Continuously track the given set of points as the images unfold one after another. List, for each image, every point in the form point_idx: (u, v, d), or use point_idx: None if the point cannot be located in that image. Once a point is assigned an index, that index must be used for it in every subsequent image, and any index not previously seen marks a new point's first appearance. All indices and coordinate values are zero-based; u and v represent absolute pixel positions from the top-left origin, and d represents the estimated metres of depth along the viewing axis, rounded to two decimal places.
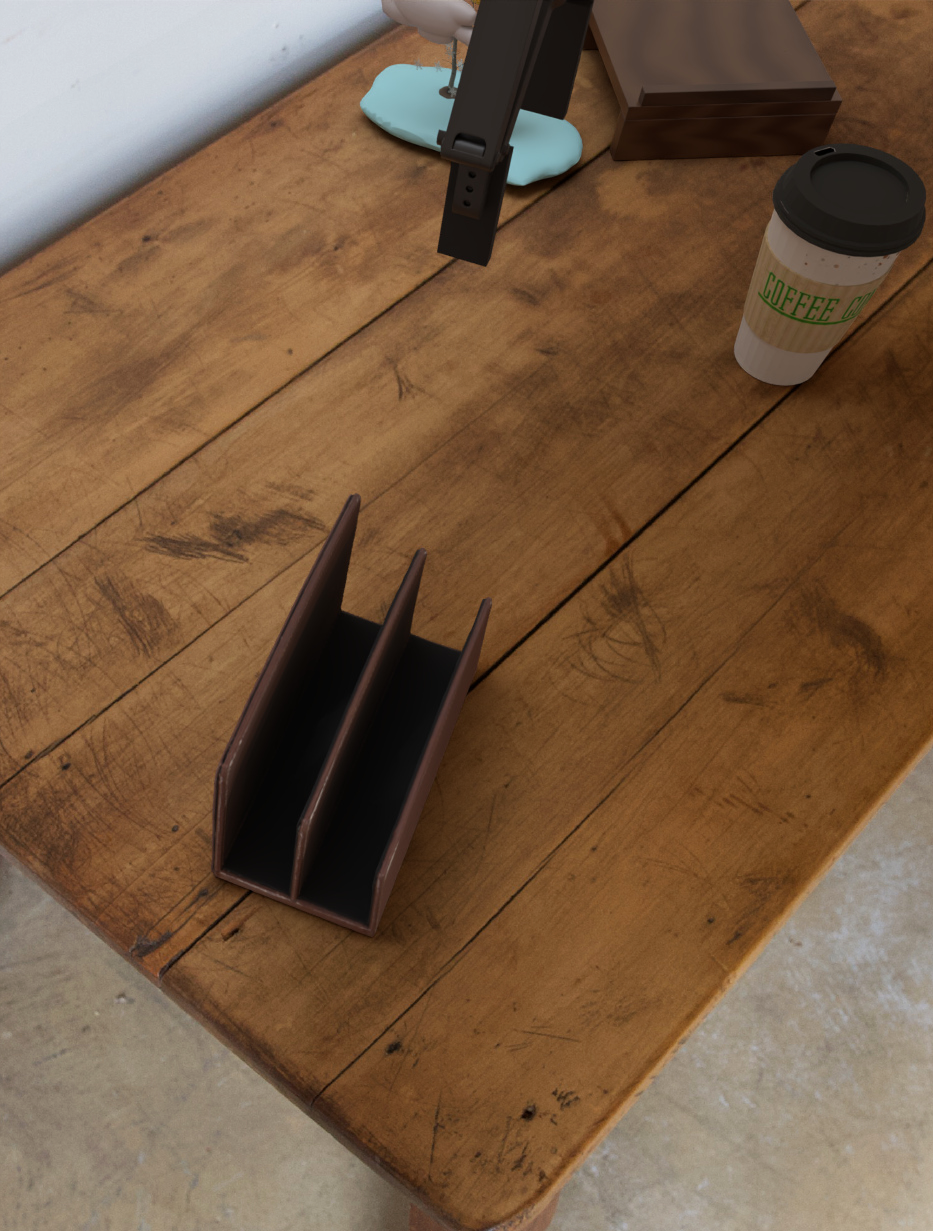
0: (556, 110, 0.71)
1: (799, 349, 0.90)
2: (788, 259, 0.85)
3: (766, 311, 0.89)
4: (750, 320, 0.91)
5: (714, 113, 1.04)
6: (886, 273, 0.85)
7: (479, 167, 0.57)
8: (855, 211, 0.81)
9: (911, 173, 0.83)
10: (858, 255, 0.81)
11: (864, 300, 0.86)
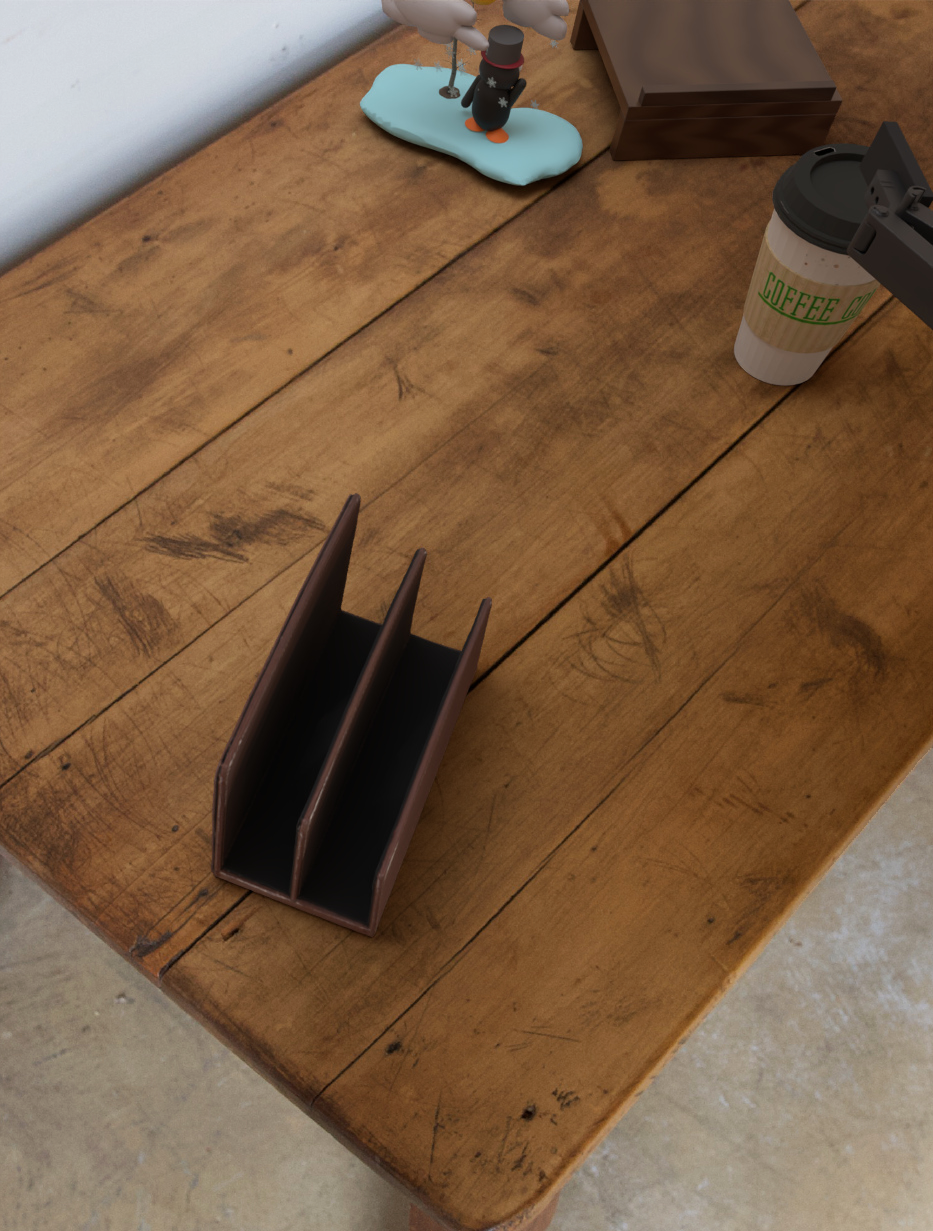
0: None
1: (799, 349, 0.90)
2: (788, 259, 0.85)
3: (766, 311, 0.89)
4: (750, 320, 0.91)
5: (714, 113, 1.04)
6: None
7: None
8: (855, 211, 0.81)
9: None
10: None
11: (864, 300, 0.86)
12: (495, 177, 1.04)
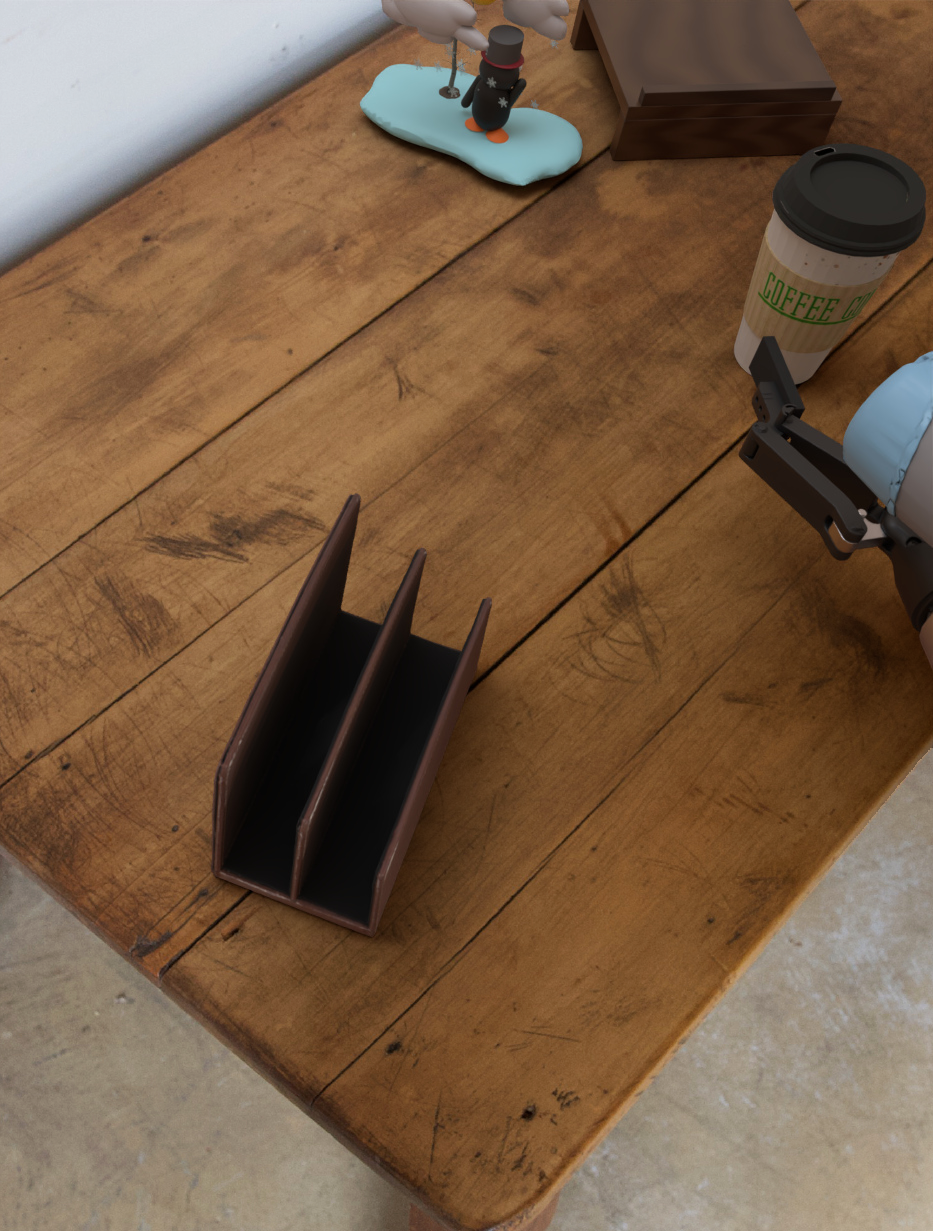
0: None
1: (799, 349, 0.90)
2: (788, 258, 0.85)
3: (766, 311, 0.89)
4: (750, 320, 0.91)
5: (714, 113, 1.04)
6: (886, 273, 0.85)
7: None
8: (855, 211, 0.81)
9: (911, 173, 0.83)
10: (858, 255, 0.81)
11: (864, 300, 0.86)
12: (495, 177, 1.04)
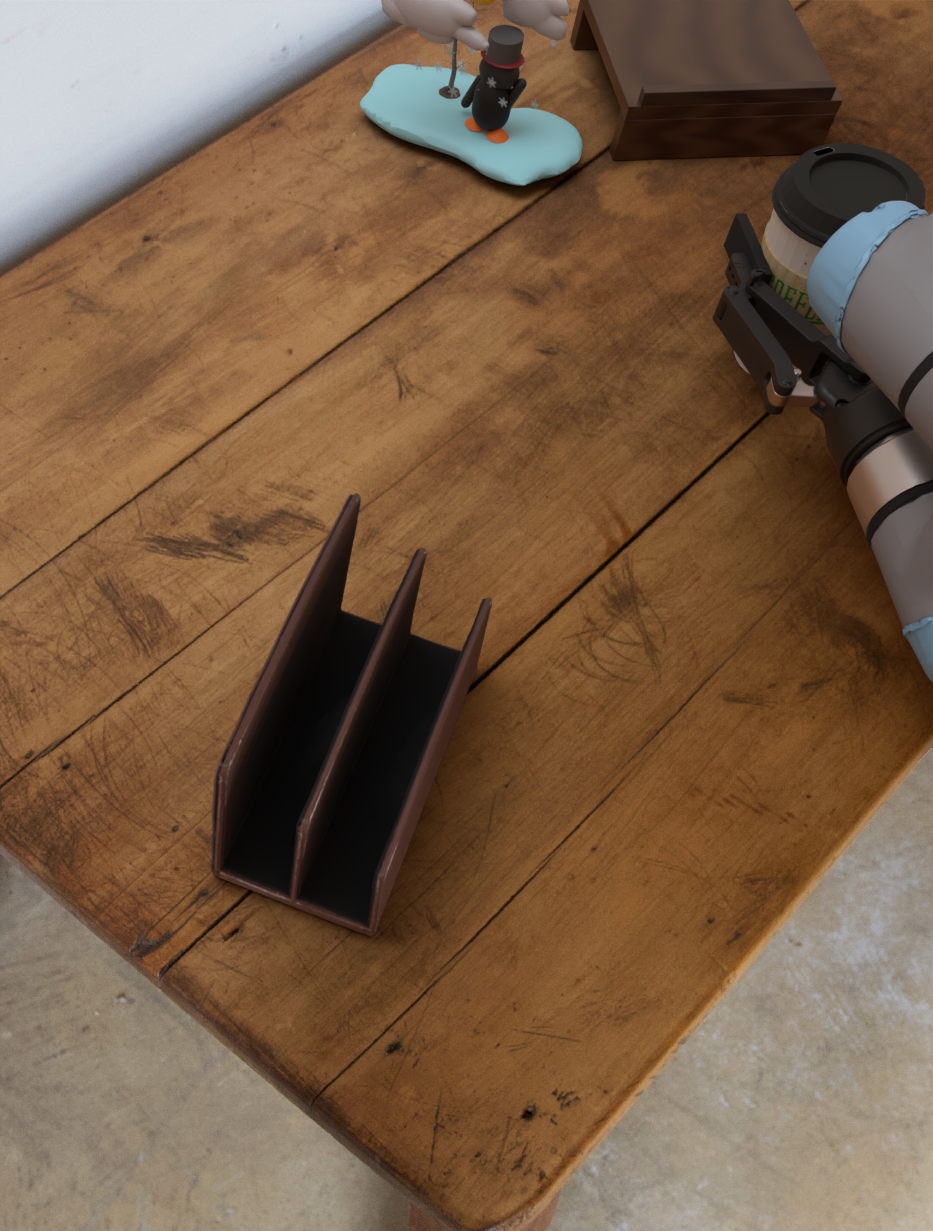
0: None
1: None
2: (787, 258, 0.85)
3: None
4: None
5: (714, 113, 1.04)
6: None
7: None
8: (854, 211, 0.81)
9: (910, 172, 0.83)
10: None
11: None
12: (495, 177, 1.04)
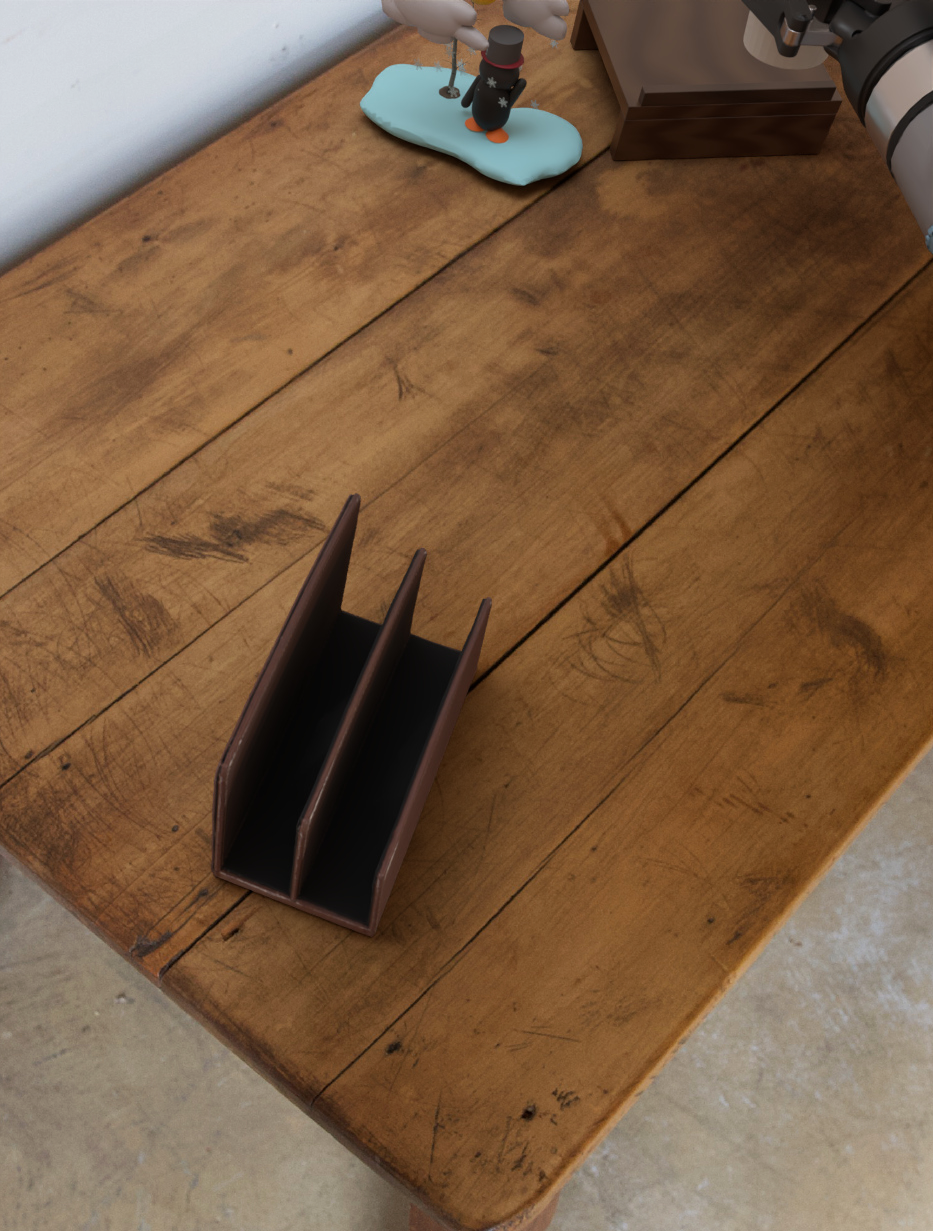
0: None
1: None
2: None
3: None
4: None
5: (714, 113, 1.04)
6: None
7: None
8: None
9: None
10: None
11: None
12: (495, 177, 1.04)
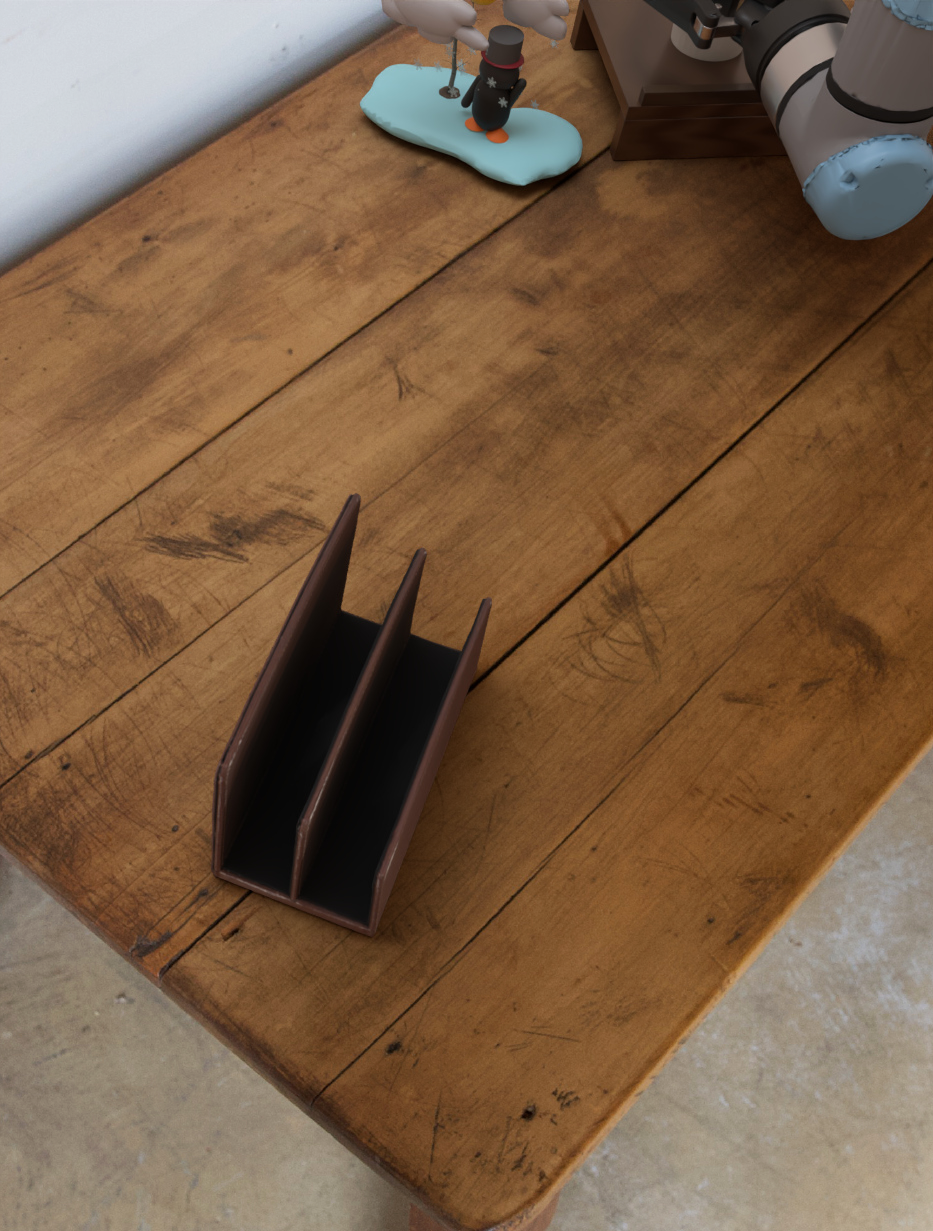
0: None
1: None
2: None
3: None
4: None
5: (714, 113, 1.04)
6: None
7: None
8: None
9: None
10: None
11: None
12: (495, 177, 1.04)
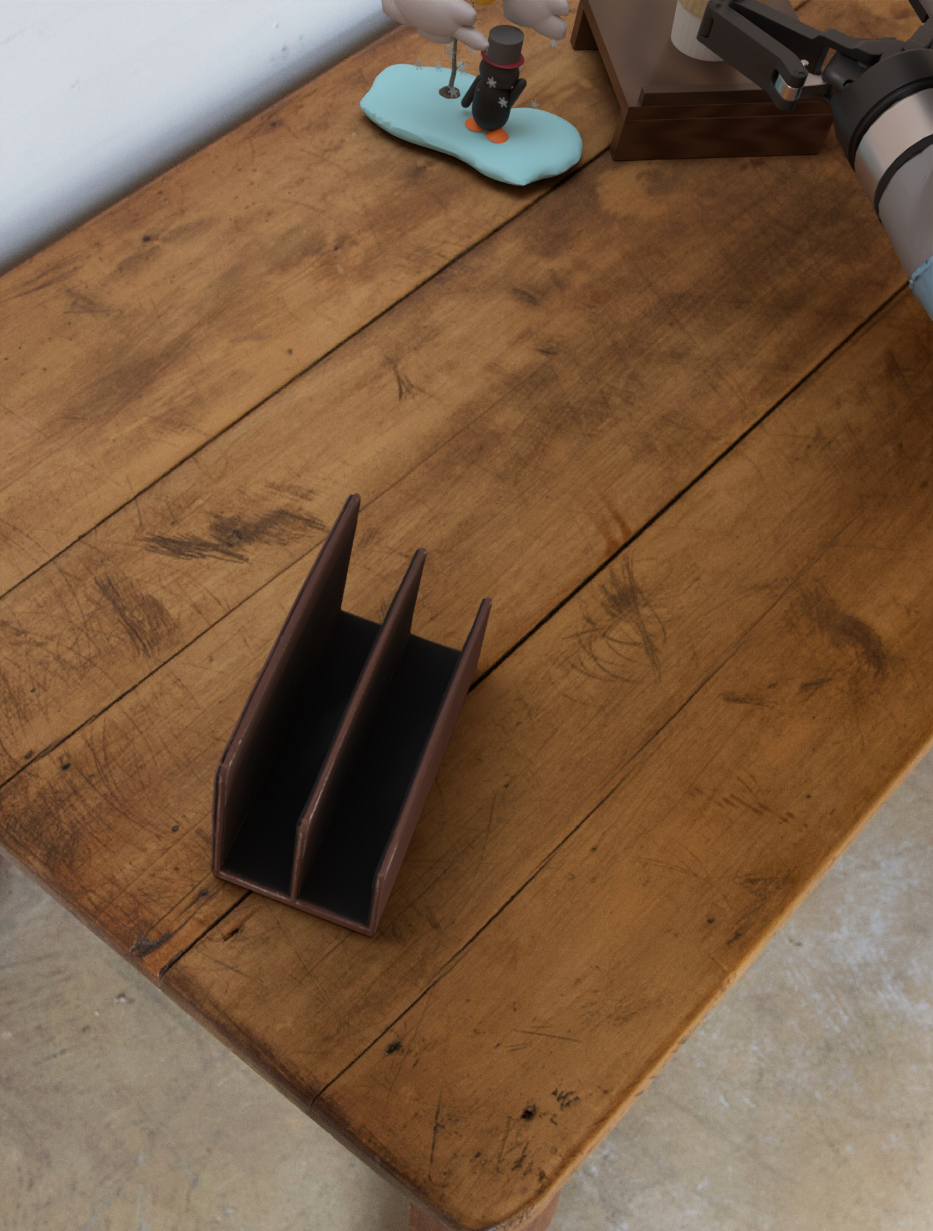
0: None
1: None
2: None
3: None
4: None
5: (714, 113, 1.04)
6: None
7: None
8: None
9: None
10: None
11: None
12: (495, 177, 1.04)
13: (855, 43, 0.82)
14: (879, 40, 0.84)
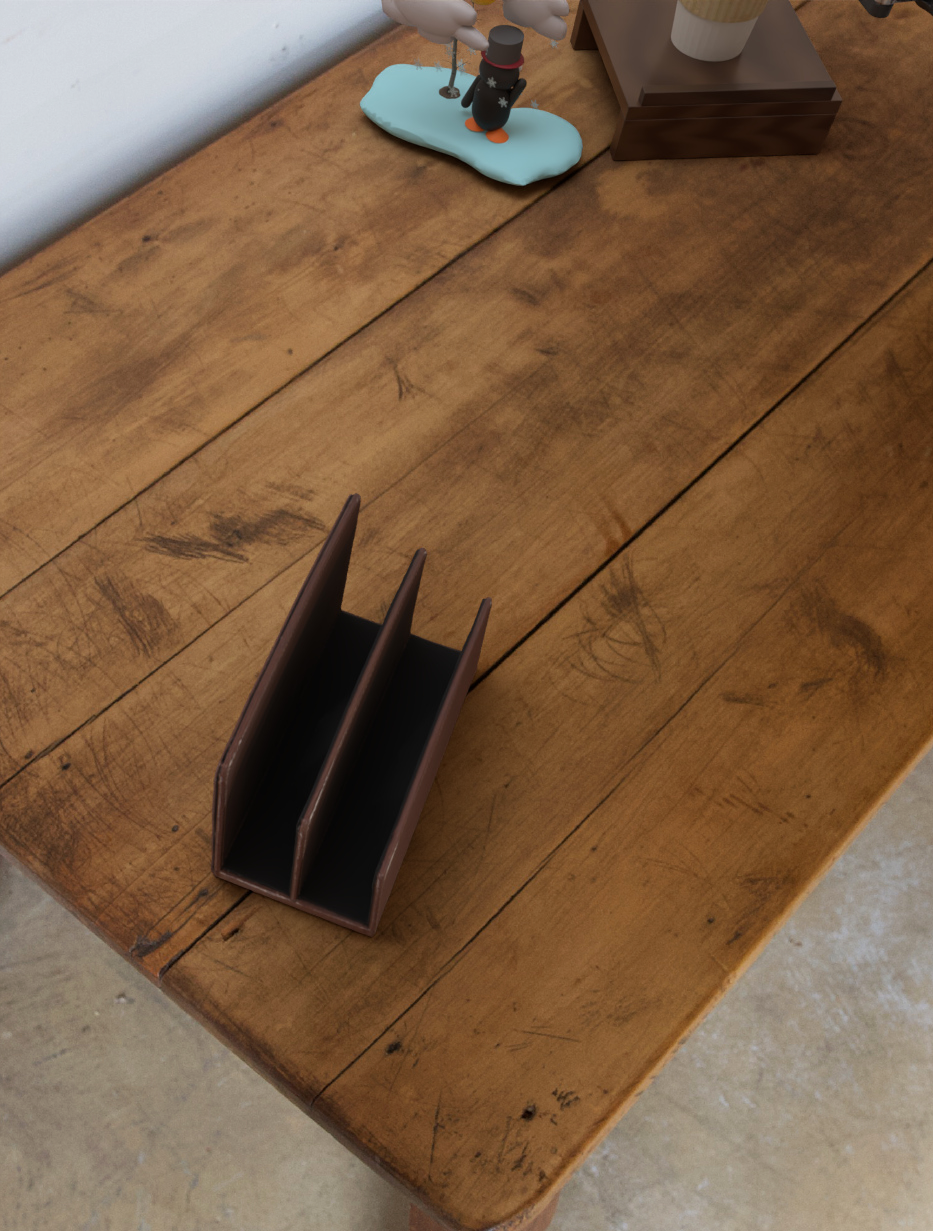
0: None
1: (724, 18, 1.03)
2: None
3: None
4: None
5: (714, 113, 1.04)
6: None
7: None
8: None
9: None
10: None
11: None
12: (495, 177, 1.04)
13: None
14: None
